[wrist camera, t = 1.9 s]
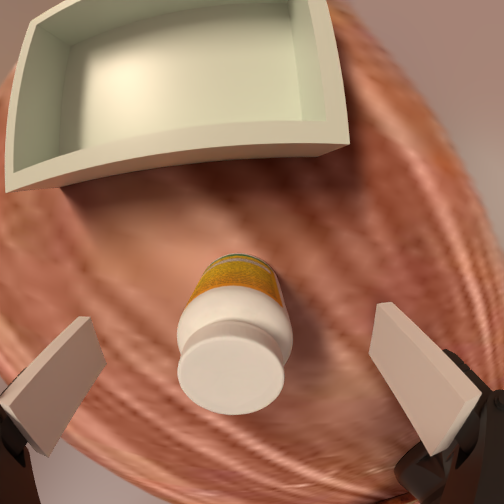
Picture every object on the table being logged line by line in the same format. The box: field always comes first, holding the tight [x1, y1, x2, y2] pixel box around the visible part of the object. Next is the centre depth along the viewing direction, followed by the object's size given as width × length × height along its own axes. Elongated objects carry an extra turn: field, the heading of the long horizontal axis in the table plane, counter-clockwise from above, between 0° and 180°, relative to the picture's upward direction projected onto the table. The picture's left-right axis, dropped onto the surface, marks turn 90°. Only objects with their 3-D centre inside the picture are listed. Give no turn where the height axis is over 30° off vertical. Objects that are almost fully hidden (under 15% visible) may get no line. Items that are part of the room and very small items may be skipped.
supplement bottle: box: [177, 253, 293, 415], centre depth 14 cm, size 5×5×10 cm
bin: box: [5, 0, 350, 193], centre depth 12 cm, size 13×19×6 cm
